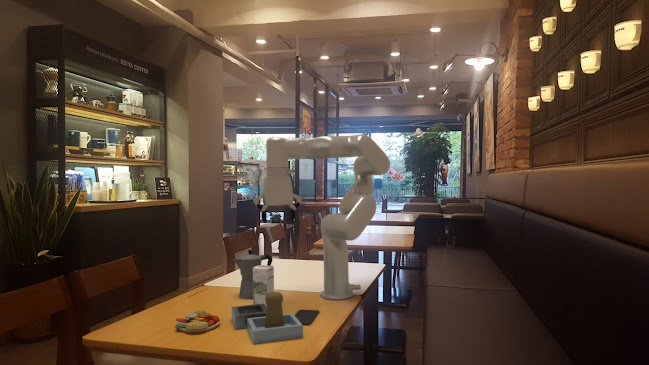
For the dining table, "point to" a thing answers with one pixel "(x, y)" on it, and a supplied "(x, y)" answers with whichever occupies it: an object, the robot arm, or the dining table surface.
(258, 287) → the syrup box
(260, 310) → the collar
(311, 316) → the phone
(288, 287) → the dining table surface
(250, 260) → the coffeepot
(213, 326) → the toy food set
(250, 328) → the tray
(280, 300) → the cork
